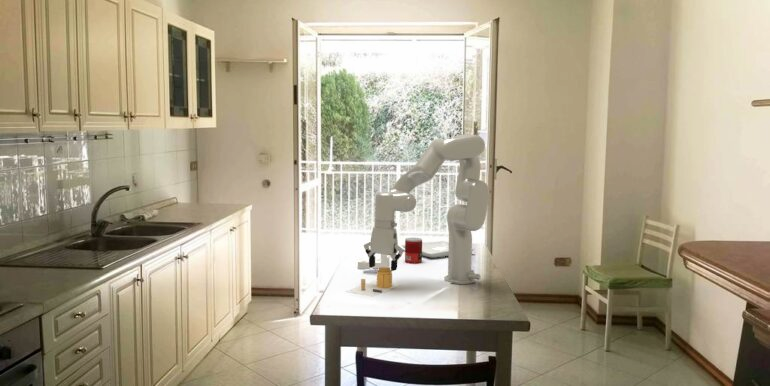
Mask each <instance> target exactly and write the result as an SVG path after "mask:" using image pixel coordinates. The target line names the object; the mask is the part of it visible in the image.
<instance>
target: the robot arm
mask: <svg viewBox="0 0 770 386" xmlns="http://www.w3.org/2000/svg"><path fill="white" fill-rule="evenodd" d="M485 148H486V143H485V140H484V139H483V138H482V136H480V135H478V134H457V135H455V136H453V137H452V138H435V139H434V140H433V141H432V142H431V143H430V144H429V145H428V147H427V148H426V149H425V151H424V152H423V154H422V155H421V157H420V158H419V159H418V161H417V162H416V164H415V165H414V166H413V167H412V168H411V169H409V170H408V171H407V172H406V173H404V174H403V175H401V177H400V178H398V180H397V181H395V184H394V185H393V186H392V187H391V189H390V191H388V192H387V191H386V192H385V191H380V192H377V193H376V194H375V203H374V205H375V207H374V208H375V209H374V227H372V231H371V237H370V242H367V243H365V244H363V248H364V250H365V253H366V254H367V257H368V259H369V267H374V266H375V259H376V256H375V254H378V255H381V254H384V255H389V257H390V258H391V262H390V264H391V265H390V270H391V271H392V272H394V271H397V269H398V261H399V260H400V258H401V257H402V256H403V254H404V253H405V248H402V247H401V246H400V245H398V244H399V243H398V242H399V241H398V232H397V229H396V228H395V227H397V226H398V223H397V222H395V214H396V213H395V212H402V213H409V212H411V211H413V210H414V209H415V208H416V205H417V199H416V197H415V195H413V194H412V193H411V192H412V191H413V190H414V189H415V188H416V187H418V186H420V185H422V184H425V183H427V182H429V181H431V180H432V179H434V177H435V175H436V173H437V172H438V171H439V169H440V168H441V166H442V165H443V164H444V162H445V161H448V162H449V161H451V162H453V161H458V162H459V169H458V173H457V175H458V176H457V181H456V183H455V184H456V185H455V191H454V194H455V197H456V199H458V200H460V201H462V202H464V203H465V202H466V204H461V203H460V204H453V205H452V206H450V208H449V209H448V210H447V214H446V221H447V226H448V242H449V252H448V257H447V260H448V261H447V265H448V266H447V275H445V276H444V279H443V280H444V282H448V283H449V282H450V283H451V284H455V285H467V284H473V283H475V281H476V280H479V281H480V280H481V275H480V273H475V271H474V269H472V265H473V264H472V260H473V258H472V257H473V256H472V255H473V254H472V253H473V251H472V248H473V236H472V235H473V234H472V232H476V231H478V230H480V229H481V228H482V227H483V225H484V224H485V221H486V216H487V211H488V207H489V202H490V195H491V194H490V193H491V192H490V188H489V186H488V184H487V182H485V181H483V180H481V179H480V175H481V168H482V167H481V161H480V158H479V156H480V155H482V154H483V152H484V151H485Z"/></svg>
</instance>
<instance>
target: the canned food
mask: <svg viewBox="0 0 770 386" xmlns="http://www.w3.org/2000/svg"><path fill="white" fill-rule="evenodd" d="M422 242H423V239H422V238H421V237H420V238H419V237H407V238H405V241H404V245H405V248H404V261H405V263H407V264H413V265H417V264H421V263H422V261H423V255H422Z"/></svg>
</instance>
